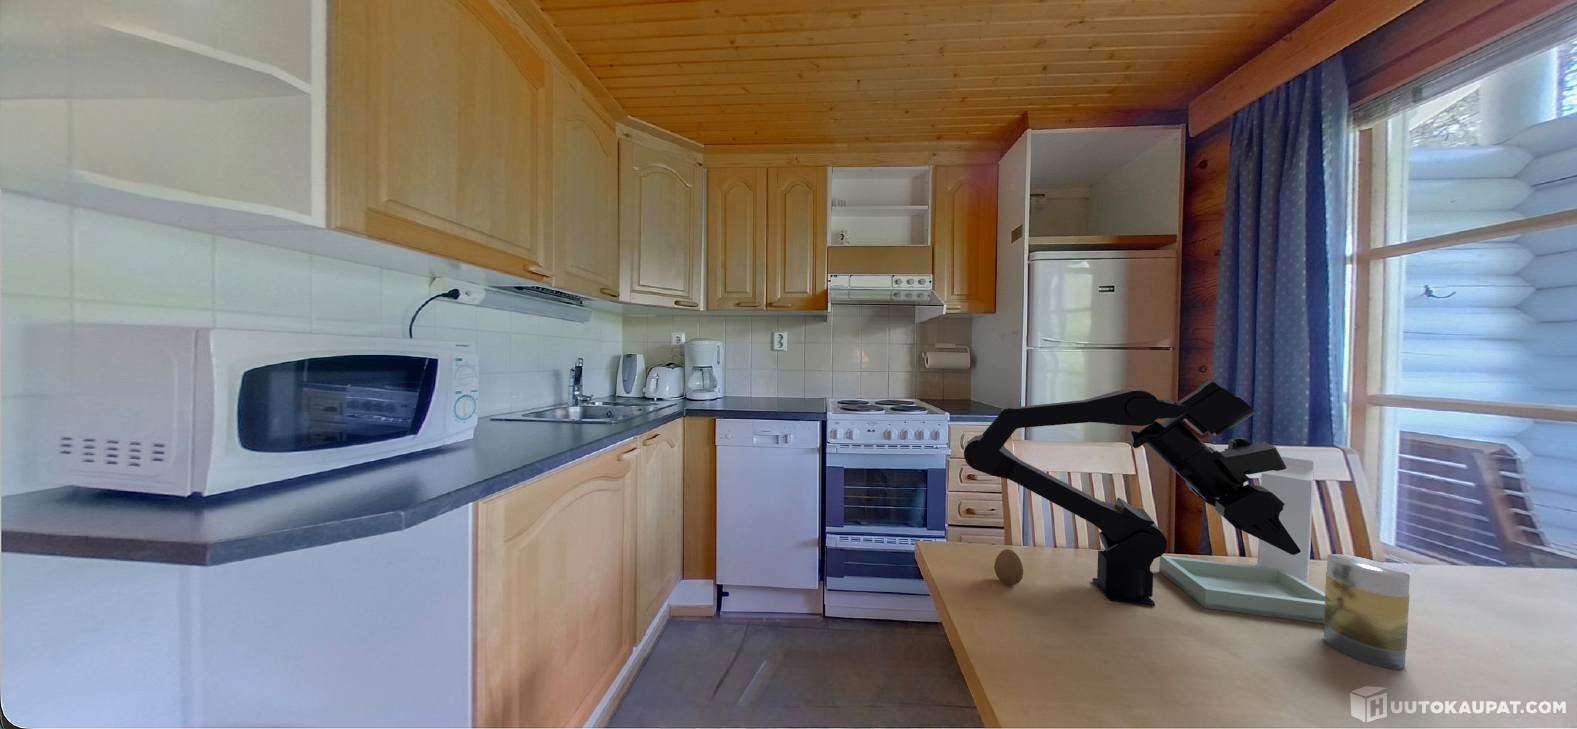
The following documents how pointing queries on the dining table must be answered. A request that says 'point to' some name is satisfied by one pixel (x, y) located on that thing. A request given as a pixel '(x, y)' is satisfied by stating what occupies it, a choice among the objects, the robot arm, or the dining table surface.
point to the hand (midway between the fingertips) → (1280, 540)
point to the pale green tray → (1246, 588)
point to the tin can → (1366, 610)
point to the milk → (1291, 516)
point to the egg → (1008, 567)
